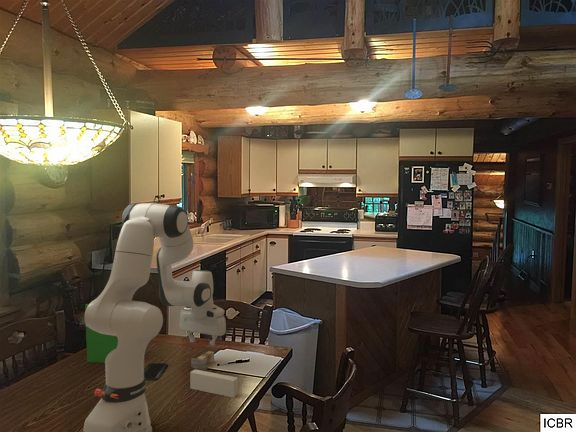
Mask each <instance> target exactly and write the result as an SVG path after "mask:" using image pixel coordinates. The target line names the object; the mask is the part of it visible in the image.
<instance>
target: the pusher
mask: <svg viewBox="0 0 576 432" xmlns="http://www.w3.org/2000/svg"><path fill="white" fill-rule="evenodd" d="M214 362H215V352H214V351H210V350H208V351H207V352H205V353H202V354H201V355H200V356H198V357H197V358H195V357H192V358H191V359H190V368H193V369H196V370H201V371H207V370H208V367H209V365H211V364H212V363H214Z"/></svg>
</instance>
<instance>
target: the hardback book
mask: <svg viewBox="0 0 576 432" xmlns="http://www.w3.org/2000/svg"><path fill="white" fill-rule="evenodd" d="M89 304H90V303H86V304H85V305H84V311H86V308H87V307H88V305H89ZM85 340H86V343H85V344H86V362H87V363H105V360H106V357H107V355H108V354H109V353H110V352H111V351H113V350H114V349H116V348H117V345H118V337H117V336H112V335H106V334H101V333H98V332H96V331H94V330H92V329H90V328H88V326H87V325H86V324H85Z"/></svg>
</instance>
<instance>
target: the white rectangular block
mask: <svg viewBox="0 0 576 432" xmlns="http://www.w3.org/2000/svg"><path fill="white" fill-rule="evenodd" d="M189 374H190V375H189V378H190V383H189V385H190V387H189V389H191V390H196V391H200V392H205V393H210V394H215V395H217V396H218V395H219V396H223V395H224V397H228V396H229V397H228V398H232V397H233V398H234V399H235V397H237V396H238V395H239V378H238V377H236V376H232V375H226V374H222V373H215V372H210V371H207V370H202V369H197V368H194V369H193V370H192V371H190V372H189ZM237 394H238V395H237ZM236 395H237V396H236ZM233 398H232V399H233Z"/></svg>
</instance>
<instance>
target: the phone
mask: <svg viewBox="0 0 576 432" xmlns="http://www.w3.org/2000/svg"><path fill="white" fill-rule="evenodd" d="M168 366H169V364H168V363H159V362H158V363H155V362H154V363H153V362H151V363H148V364H147V365H146V367H144V377H145V379H146V381H152V382H155V381H158V380H159V378H160V377H161V376H162V374H164V372H165V371H166V370H167V368H168Z"/></svg>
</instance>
